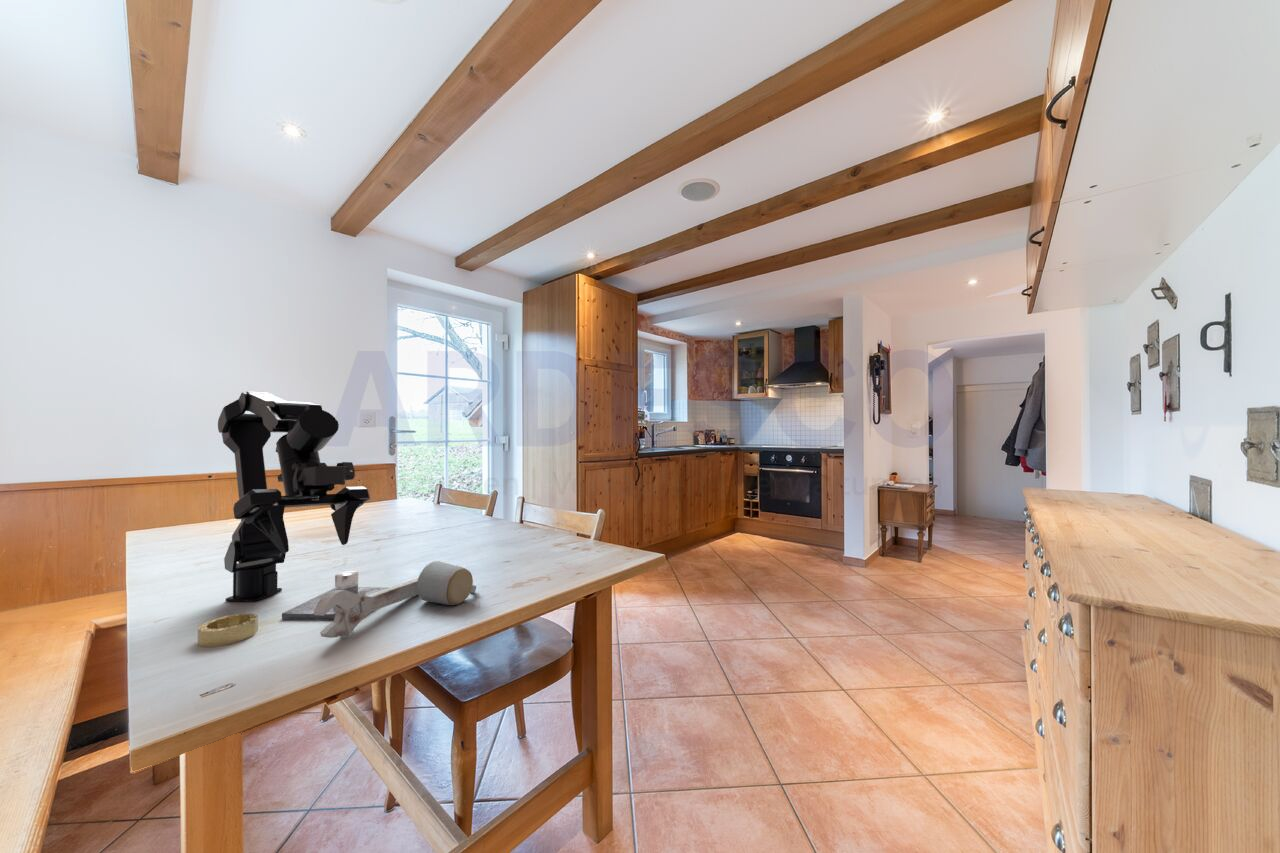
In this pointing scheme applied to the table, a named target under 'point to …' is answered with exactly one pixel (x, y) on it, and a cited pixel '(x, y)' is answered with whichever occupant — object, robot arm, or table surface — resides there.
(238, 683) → the table surface
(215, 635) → the ring
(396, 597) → the wrench
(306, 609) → the piston stand
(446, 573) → the ceramic mug
